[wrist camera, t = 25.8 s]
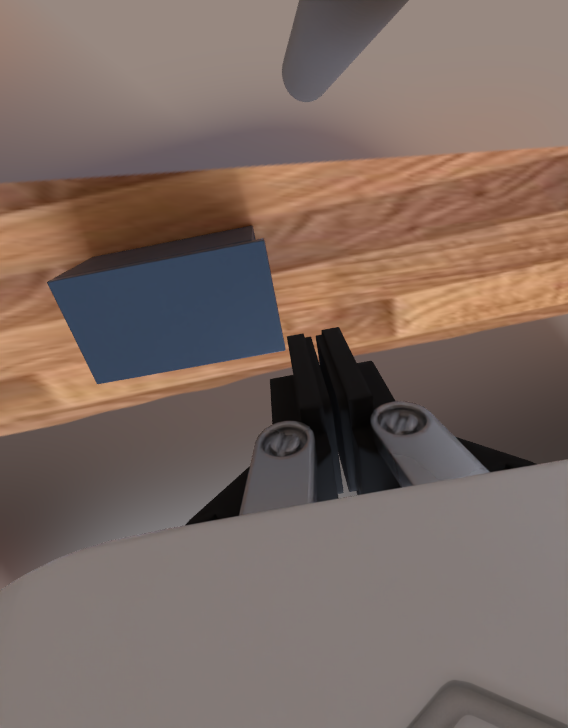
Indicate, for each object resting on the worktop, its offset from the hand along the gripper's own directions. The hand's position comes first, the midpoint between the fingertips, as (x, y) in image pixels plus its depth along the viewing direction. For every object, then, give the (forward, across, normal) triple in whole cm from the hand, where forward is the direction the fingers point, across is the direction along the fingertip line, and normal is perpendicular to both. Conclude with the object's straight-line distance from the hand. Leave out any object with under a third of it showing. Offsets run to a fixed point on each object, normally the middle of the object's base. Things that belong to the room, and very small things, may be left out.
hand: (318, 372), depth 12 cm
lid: (+18, +9, +3) cm, 21 cm away
